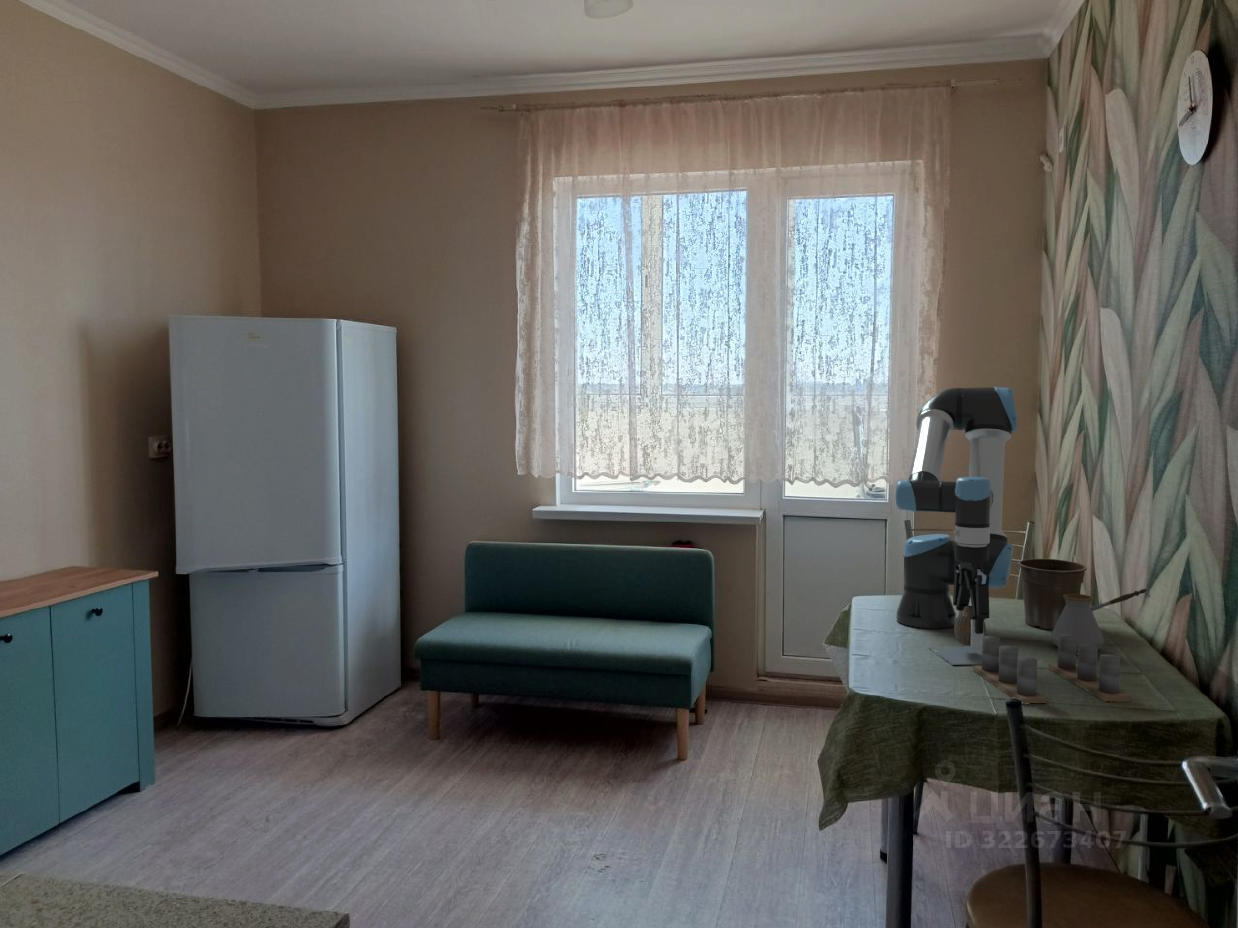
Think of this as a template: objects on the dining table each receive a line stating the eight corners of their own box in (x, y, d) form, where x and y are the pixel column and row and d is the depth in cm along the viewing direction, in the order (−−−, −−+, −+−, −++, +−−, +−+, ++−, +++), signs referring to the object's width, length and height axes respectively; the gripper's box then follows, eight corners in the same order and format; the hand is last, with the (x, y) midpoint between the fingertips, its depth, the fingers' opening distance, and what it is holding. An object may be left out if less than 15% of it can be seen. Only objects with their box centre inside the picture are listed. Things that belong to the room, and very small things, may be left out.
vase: (990, 643, 216) (991, 606, 215) (978, 649, 211) (979, 611, 210) (961, 638, 221) (962, 601, 220) (948, 644, 216) (949, 607, 215)
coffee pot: (1058, 655, 216) (1060, 592, 214) (1043, 642, 227) (1045, 582, 226) (1157, 658, 212) (1159, 594, 211) (1137, 645, 224) (1139, 583, 222)
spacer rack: (973, 670, 205) (973, 634, 204) (1070, 668, 206) (1071, 631, 205) (1021, 704, 183) (1022, 663, 182) (1129, 701, 184) (1131, 660, 183)
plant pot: (1097, 632, 235) (1098, 569, 234) (1032, 633, 236) (1034, 570, 234) (1067, 617, 251) (1069, 558, 250) (1007, 617, 252) (1008, 558, 250)
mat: (928, 648, 223) (928, 646, 223) (985, 647, 223) (985, 645, 223) (952, 665, 209) (952, 664, 209) (1013, 664, 209) (1013, 662, 209)
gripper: (938, 537, 224) (937, 631, 225) (974, 551, 204) (972, 654, 206) (969, 537, 224) (967, 631, 226) (1007, 551, 204) (1005, 653, 206)
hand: (969, 642), depth 216 cm, fingers closed on vase, 7 cm apart
